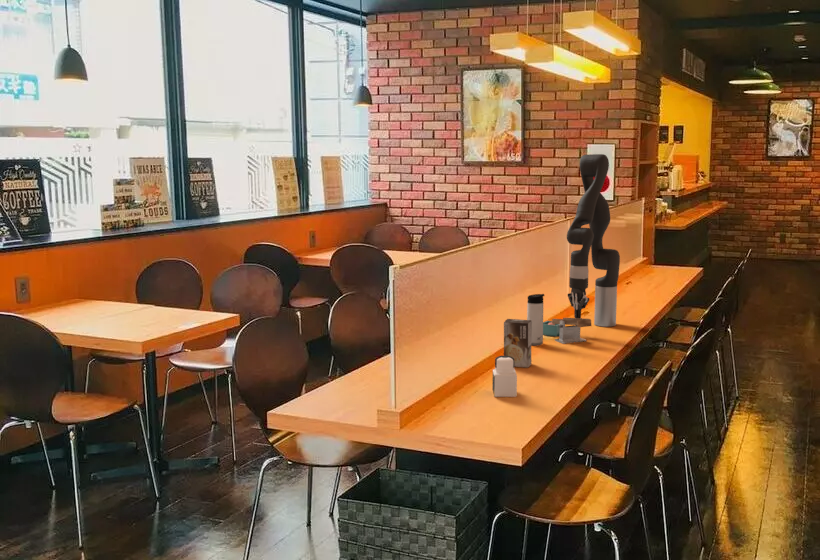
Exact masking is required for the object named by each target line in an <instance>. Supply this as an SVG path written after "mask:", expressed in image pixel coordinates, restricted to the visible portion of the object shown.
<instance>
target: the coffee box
mask: <svg viewBox="0 0 820 560" xmlns="http://www.w3.org/2000/svg"><path fill="white" fill-rule="evenodd" d="M503 356H511V357H513V358H514V368H515V367H516V368H517V367H518V368H529V367H530V366H531V365H532V345H531V320H527V319H518V318H507V319H505V320H504V321H503Z"/></svg>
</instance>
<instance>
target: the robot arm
mask: <svg viewBox="0 0 820 560" xmlns="http://www.w3.org/2000/svg"><path fill="white" fill-rule="evenodd" d="M609 166H610V162H609V158H608V157H607V154H602V153H601V154H600V153H599V154H598V153H597V154H596V153H595V154H593V153H592V154H584V155H582V156H581V157H580V160H579V171H580V172H579V173H580V177H581V181H582V186H583V190H584V193H583V194H582V196H581V197H580V199H579V201H578V204H577V208H576V211H575V212H576V213H575V217H574V218H573V221H572V222H571V224H570V226H569V227H568V229H567V233H566V240H567V243H569V244H570V245H573V246H574V245H578V246H582V247H581V249H578V250H573V251H571V253H570V266H569V283H568V284H569V285H568V286H569V288H570V289H571V290H570V293H569V292H568V293H567V297H568V301H569V303H570V306H571V307H572V308H573V311H574V313H573V315H574V317H573V318H582V310H584V309H586V307H587V305H588V303H589V301H590V298H589V297H587V291H586V289H588V288H589V255H590V252H591V263H592V267H594V268H595V269H596V270H601V271H606V273H605V275H604V276H602V277H597V278H596V279H595V287H594V319H593V320H594V321H593V324H594V326H598V327H607V328H608V327H615V326H616V325H617V306H618V305H617V301H618V299H617V298H618V282H619V275H620V264H621V263H620V262H621V261H620V260H621V257H620V253H619V251H618V250H617V249H613V248H605V247H604V245H603V239H604V235H605V232H606V231H607V229H608V227H609V225H610V223H611V212H610V205H609V202H608V201H607V199H606V198H605V196H604V195H603V194H602V193H601V191H602V189H603V186H604V183H605V181H606V178H607V175H608V172H609V169H610V167H609ZM585 225H586V226H587V225H588V227H583V226H585Z"/></svg>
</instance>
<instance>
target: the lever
mask: <svg viewBox="0 0 820 560" xmlns="http://www.w3.org/2000/svg"><path fill="white" fill-rule="evenodd" d="M560 320H562V321H565V326H573V325H577V327H580V328H584V327H592V319H591V318H582V317H581V318H575V317H562V318H552V319H551V321H552V324H560Z"/></svg>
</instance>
